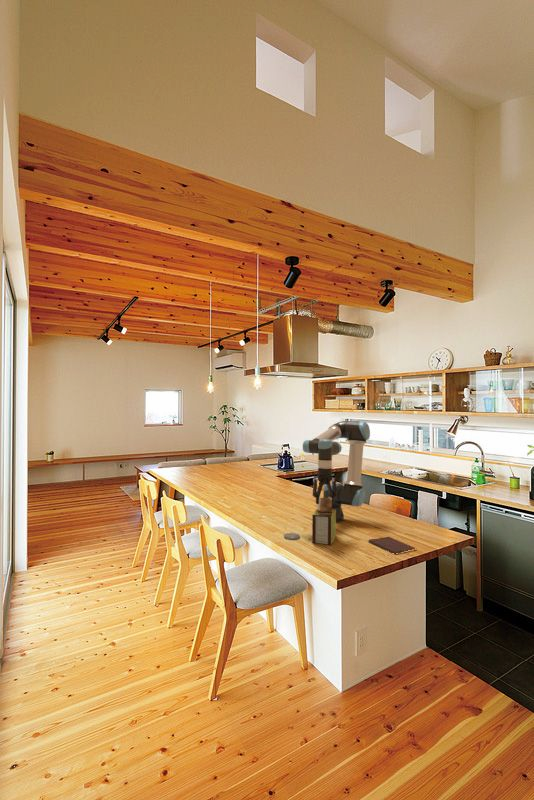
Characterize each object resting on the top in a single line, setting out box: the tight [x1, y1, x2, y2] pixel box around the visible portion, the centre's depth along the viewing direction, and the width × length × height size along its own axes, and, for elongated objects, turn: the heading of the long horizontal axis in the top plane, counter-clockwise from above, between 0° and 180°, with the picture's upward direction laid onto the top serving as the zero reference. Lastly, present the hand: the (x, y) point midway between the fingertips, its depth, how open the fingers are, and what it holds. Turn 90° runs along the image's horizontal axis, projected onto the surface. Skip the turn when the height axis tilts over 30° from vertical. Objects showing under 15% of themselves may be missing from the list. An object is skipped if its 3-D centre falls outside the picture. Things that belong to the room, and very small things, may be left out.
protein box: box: [311, 508, 337, 546], centre depth 218 cm, size 10×15×16 cm
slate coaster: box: [283, 532, 301, 541], centre depth 221 cm, size 9×9×1 cm
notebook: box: [368, 536, 416, 555], centre depth 209 cm, size 15×20×2 cm
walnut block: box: [320, 497, 332, 512], centre depth 218 cm, size 6×6×6 cm
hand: (324, 509), depth 218 cm, fingers closed on walnut block, 6 cm apart
